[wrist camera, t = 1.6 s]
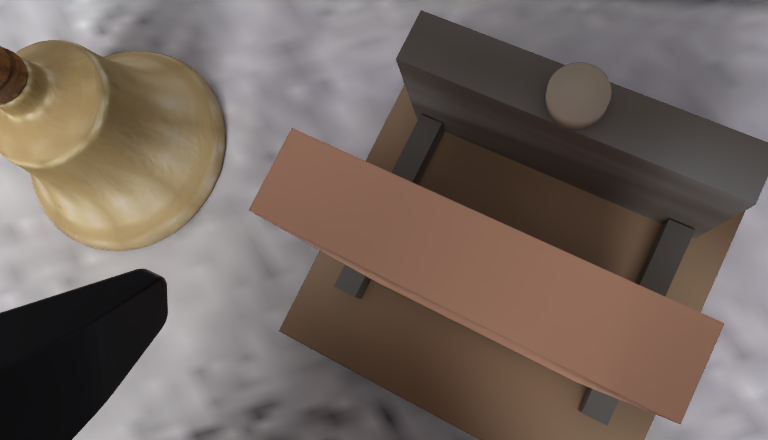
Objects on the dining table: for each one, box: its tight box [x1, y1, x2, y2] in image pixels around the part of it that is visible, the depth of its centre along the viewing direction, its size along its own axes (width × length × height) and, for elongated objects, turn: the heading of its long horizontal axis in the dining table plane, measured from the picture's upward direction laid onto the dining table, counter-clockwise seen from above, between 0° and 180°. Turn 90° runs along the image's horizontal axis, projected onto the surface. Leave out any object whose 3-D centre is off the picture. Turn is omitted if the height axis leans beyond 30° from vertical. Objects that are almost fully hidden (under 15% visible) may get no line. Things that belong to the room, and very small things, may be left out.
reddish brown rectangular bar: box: [249, 128, 724, 424], centre depth 16 cm, size 2×7×12 cm, turn 63°
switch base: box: [279, 11, 768, 440], centre depth 20 cm, size 10×12×7 cm
